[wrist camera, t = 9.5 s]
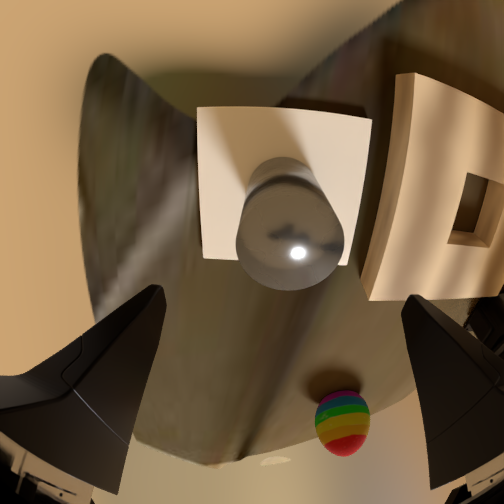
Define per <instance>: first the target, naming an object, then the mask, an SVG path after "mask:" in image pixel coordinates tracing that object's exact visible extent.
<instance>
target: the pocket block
mask: <svg viewBox="0 0 504 504" xmlns="http://www.w3.org/2000/svg"><path fill="white" fill-rule="evenodd" d="M467 172H469V173H472V174H475V175H478V176H481V177H484V178H487V179H489V181H488V186H487V190H486V194H485V197H484V201H483V205H482V208H481V211H480V215H479V218H478V221H477V224H476V227H475V230H474V233H471V232H464V231H456V230H452V227H453V223H454V220H455V217H456V213H457V210H458V206H459V203H460V199H461V195H462V191H463V187H464V183H465V179H466V174H467ZM360 280H361V283H362V285H363V287H364V290H365V292H366V295H367V297H368V300H369V301H381V300H407V298H408V296H409V295H411V294H419V295H421V296H422V297H423V298H425V299H426V300H434V299H458V298H476V297H491V296H498V294H499V292H500V290H501V288H502V286H503V284H504V114H503V113H501V112H500V111H498V110H496V109H495V108H493V107H491V106H489V105H487V104H486V103H484V102H482V101H480V100H478V99H476V98H474V97H472V96H470V95H468V94H466V93H464V92H462V91H460V90H457V89H455V88H453V87H451V86H448V85H446V84H444V83H441V82H439V81H436V80H434V79H431V78H428V77H426V76H423V75H420V74H417V73H406V74H397V75H396V81H395V97H394V109H393V120H392V129H391V137H390V145H389V152H388V158H387V165H386V171H385V177H384V182H383V187H382V193H381V198H380V203H379V207H378V212H377V217H376V221H375V225H374V229H373V234H372V238H371V242H370V245H369V249H368V253H367V257H366V260H365V264H364V268H363V271H362V274H361V278H360Z"/></svg>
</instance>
